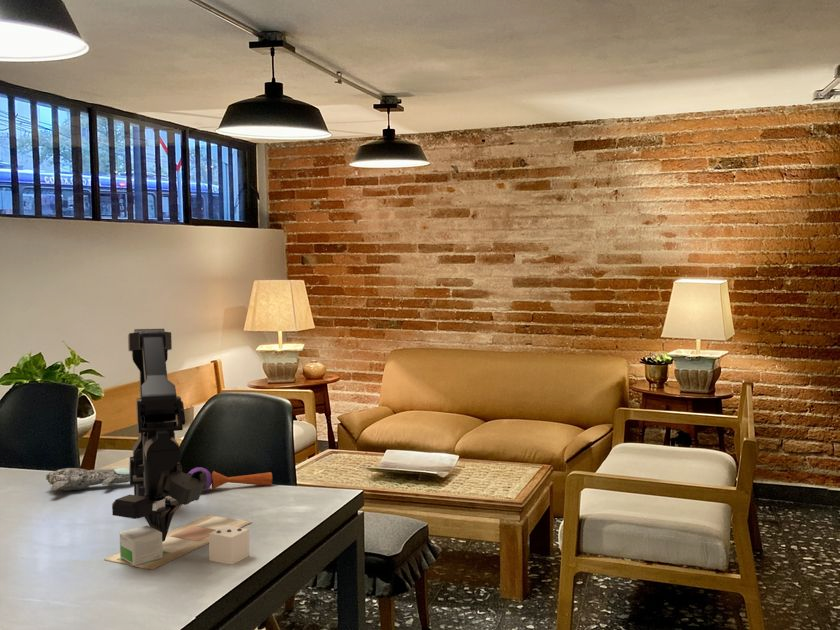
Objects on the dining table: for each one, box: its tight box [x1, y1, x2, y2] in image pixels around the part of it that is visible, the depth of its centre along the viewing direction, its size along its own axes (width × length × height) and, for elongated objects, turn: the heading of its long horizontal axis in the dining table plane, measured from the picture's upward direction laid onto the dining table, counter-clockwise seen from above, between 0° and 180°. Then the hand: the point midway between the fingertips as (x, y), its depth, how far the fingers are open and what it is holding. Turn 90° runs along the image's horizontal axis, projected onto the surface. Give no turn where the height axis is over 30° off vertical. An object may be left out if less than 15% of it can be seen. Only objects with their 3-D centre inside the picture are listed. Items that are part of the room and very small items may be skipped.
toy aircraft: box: [45, 467, 136, 492], centre depth 194 cm, size 16×20×5 cm
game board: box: [103, 514, 252, 571], centre depth 158 cm, size 11×29×1 cm, turn 156°
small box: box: [119, 525, 163, 565], centre depth 147 cm, size 6×6×5 cm
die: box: [208, 526, 250, 565], centre depth 149 cm, size 5×5×5 cm
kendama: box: [188, 466, 273, 492], centre depth 195 cm, size 6×6×20 cm
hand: (161, 541), depth 152 cm, fingers closed
